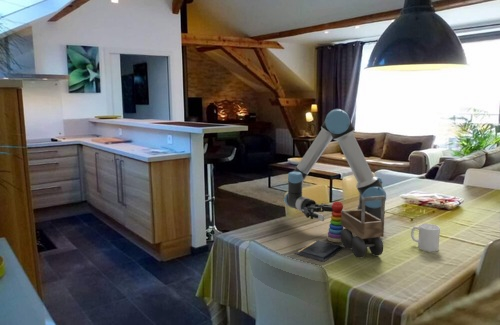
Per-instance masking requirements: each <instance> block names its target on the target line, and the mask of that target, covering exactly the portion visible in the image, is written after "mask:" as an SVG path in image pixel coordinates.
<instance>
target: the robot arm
mask: <svg viewBox="0 0 500 325" xmlns="http://www.w3.org/2000/svg"><path fill="white" fill-rule="evenodd" d="M320 129H321V130H320V131H319V132H318V134H317V135H316V137H315V139H314V140H313V141H312V143H311V145H310V146H309V148H307V150H306V152H305V154H304V155H303V156H302V158H301V160H300V161H299V162H298V164H297V166H296V167H295V169H294V170H293V171H290V172H288V173H287V174H288V177H287V190H288V192H287V193H286V194H285V195H284V196H285V197H284V200H283V201H284V203H285V205H286V206H288V207H290V208H292V209H295V210H297V211H300V212H302V213H303V214H304V216H305V217H306V218H307V219H308V218H310V220H313V219H316V220H319V221H321V222H324V221H325V215H323V214H322V213H324V212H328V213H332V212H333V209H332V204H326V203H321V204H319V203H317V202H316V200H314V199H311V198H308V197H306V196H303V182H304V181H305V180H306V178H307V176H308V175H309V173H310V172H311V170H312V169H313V167H314V165H316V163H317V162H318V160H319V159H320V157H321V156H322V154H323V153H324V151H325V150H326V148H327V147H328V146H329V144H330V143H331V141H332V140H334V141H336V142H338V145H339V147H340V149H341V151H342V153H343V155H344V158H345V160H346V162H347V163H348V166H349V167H350V170H351V172H352V175H353V176H354V178H355V180H356V182H357V184H356V188H357V190H358V194H359V199H358V200H359V201H358V206H357V208H356V210H361V209H362V200H361V199H362V197H373V196H385V197H386V199H385V202H386V201H387V193H386V191H385V190H384V188H383V179H382V177H378V176H376V175H374V174H373V172H372V169H371V167H370V165H369V164H368V162H367V160H366V158H365V155H364V153H363V151H362V149H361V146H360V145H359V143H358V140H357V139H356V136H355V134H354V132H355V127H354V126H353V124H352V121H351V119H350V116H349V114H348V113H347V112H346V111H345V110H344V109H342V108H333V109H331V110H330V111H329V112H327V114H326V117H325V119H324V122H323V123H322V124H321V126H320ZM342 211H346V210H345V209H342ZM365 212H367V213H369V214H371V215H373V216H375V217H377V218H379V219H381V200H373V201H365Z"/></svg>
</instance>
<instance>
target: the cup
mask: <svg viewBox="0 0 500 325" xmlns="http://www.w3.org/2000/svg"><path fill="white" fill-rule="evenodd" d="M415 230H418V238H415V236H414V233H415ZM440 233H441V227H440V226H439V225H437V224H432V223H421V224H419V225H418V226H413V227H412V228H411V231H410V236H411V239H412V241H414V242H415V243H417V246H418V248H419V250H421V251H423V252H428V253H435V252H438V251H439V247H440Z"/></svg>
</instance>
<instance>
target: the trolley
mask: <svg viewBox="0 0 500 325" xmlns="http://www.w3.org/2000/svg"><path fill="white" fill-rule="evenodd" d="M385 199H386V200H387V196H386V197H385V196H373V197H362V199H361V200H362V209H361V210H357V209H354V210H353V209H352V210H345V211H341V225H342V226H343V229H342V231H341V241H342V242H341V244H342V247H344V249H345V250H352V251H353V255H354V256H355V257H356V258H358V259H359V258H360V259H361V258H364V257H366V254H367V253H366V252H367V248H369V251H370V252H371V254H372V255H374V256H381V255H382V254H383V251H384V241H383V240H382V237H384V236H385V235H384V233H385V232H384V231H385V214H386V213H385V210H386V201H385ZM373 200H381V219H379V218H377V217H375V216H373V215H371V214H369V213H367V212H365V201H373Z"/></svg>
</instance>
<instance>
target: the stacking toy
mask: <svg viewBox="0 0 500 325" xmlns="http://www.w3.org/2000/svg"><path fill="white" fill-rule="evenodd" d="M331 205H332V209H333V212H331V216H330V224H329V227H328V231H327V237H326V238H327V240H328V241H330V242H332V243H336V244H337V243H342V241H341V231H342V229H344V227H343V226H342V225H341V211H342V210H344V205H343V203H342V202H340V201H335V202H333V203H332V204H331Z"/></svg>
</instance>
